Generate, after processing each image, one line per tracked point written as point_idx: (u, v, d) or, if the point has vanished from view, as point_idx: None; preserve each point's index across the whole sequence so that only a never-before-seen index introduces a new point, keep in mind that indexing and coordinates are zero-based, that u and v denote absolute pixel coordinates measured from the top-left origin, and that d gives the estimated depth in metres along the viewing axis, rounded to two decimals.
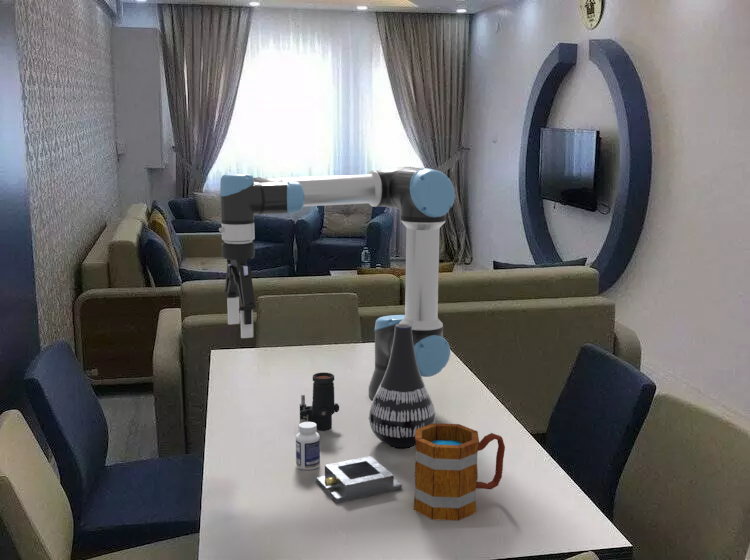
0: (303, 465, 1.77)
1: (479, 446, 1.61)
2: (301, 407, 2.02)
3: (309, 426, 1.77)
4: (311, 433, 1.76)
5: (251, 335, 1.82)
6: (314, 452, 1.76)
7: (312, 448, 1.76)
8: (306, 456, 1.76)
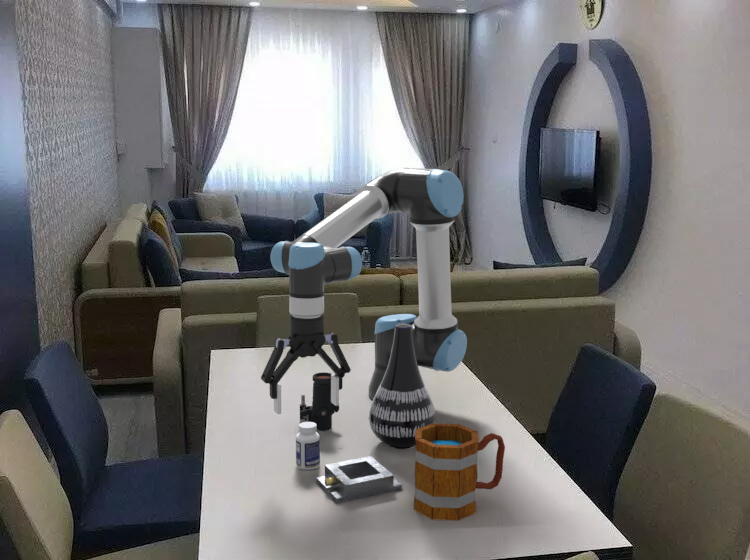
0: (303, 465, 1.77)
1: (479, 446, 1.61)
2: (301, 407, 2.02)
3: (309, 426, 1.77)
4: (311, 433, 1.76)
5: (277, 411, 1.73)
6: (314, 452, 1.76)
7: (312, 448, 1.76)
8: (306, 456, 1.76)
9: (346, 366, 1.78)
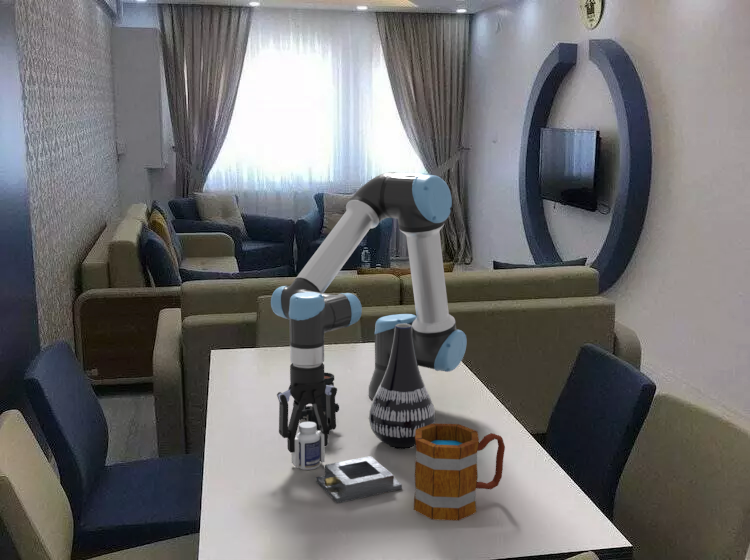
0: (303, 465, 1.77)
1: (479, 446, 1.61)
2: None
3: (309, 426, 1.77)
4: (311, 433, 1.76)
5: (295, 464, 1.77)
6: (314, 452, 1.76)
7: (312, 448, 1.76)
8: (306, 456, 1.76)
9: (333, 423, 1.79)
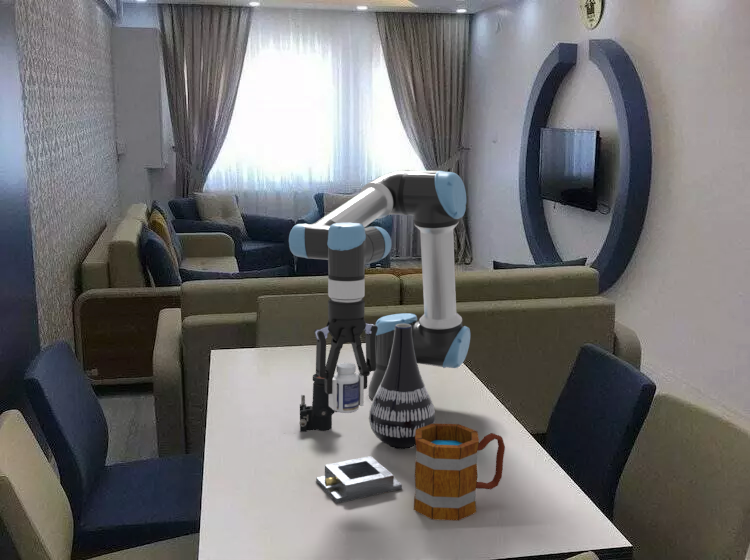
0: (341, 408, 1.66)
1: (479, 446, 1.61)
2: (301, 407, 2.02)
3: (348, 366, 1.66)
4: (349, 374, 1.66)
5: (332, 407, 1.66)
6: (352, 394, 1.66)
7: (351, 390, 1.65)
8: (344, 398, 1.65)
9: (373, 364, 1.68)
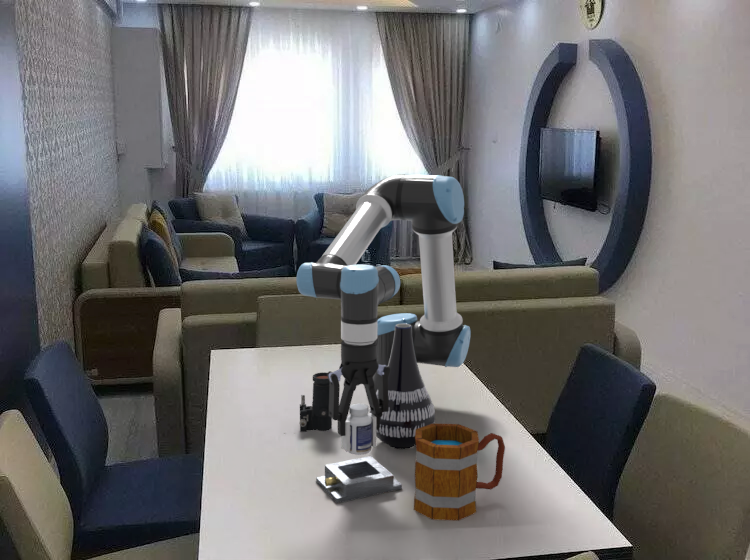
0: (354, 450, 1.66)
1: (479, 446, 1.61)
2: (301, 407, 2.02)
3: (361, 408, 1.65)
4: (363, 415, 1.65)
5: (345, 449, 1.66)
6: (366, 436, 1.65)
7: (364, 431, 1.65)
8: (357, 440, 1.65)
9: (385, 405, 1.68)
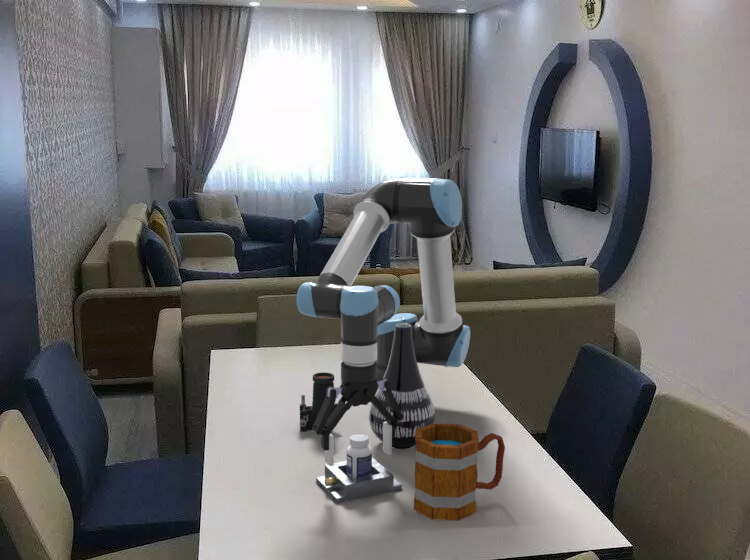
0: None
1: (479, 446, 1.61)
2: (301, 407, 2.02)
3: (361, 439, 1.67)
4: (363, 447, 1.67)
5: (329, 463, 1.65)
6: (366, 467, 1.67)
7: (364, 463, 1.66)
8: (358, 471, 1.66)
9: (399, 414, 1.70)
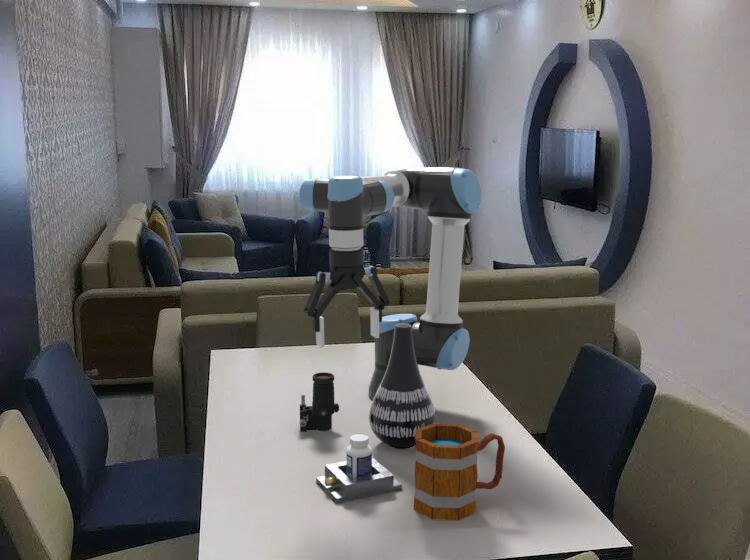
0: None
1: (479, 446, 1.61)
2: (301, 407, 2.02)
3: (361, 439, 1.67)
4: (363, 447, 1.67)
5: (320, 344, 1.74)
6: (366, 467, 1.67)
7: (364, 463, 1.66)
8: (358, 471, 1.66)
9: (385, 299, 1.80)
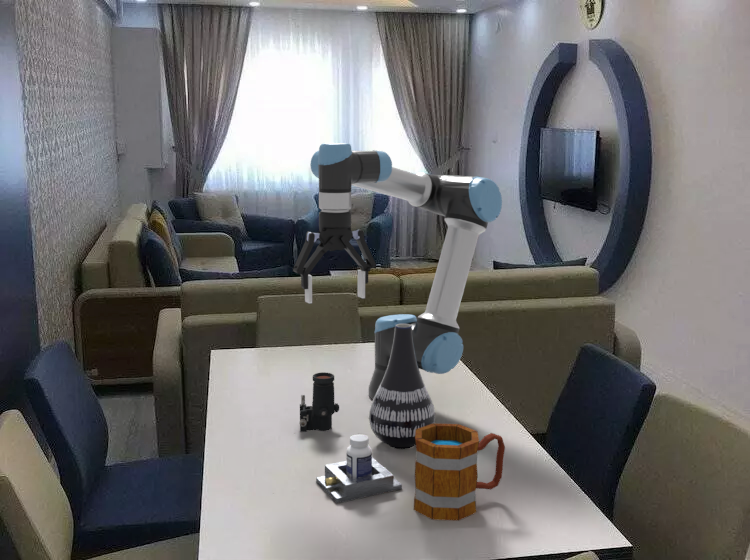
0: None
1: (479, 446, 1.61)
2: (301, 407, 2.02)
3: (361, 439, 1.67)
4: (363, 447, 1.67)
5: (308, 301, 1.85)
6: (366, 467, 1.67)
7: (364, 463, 1.66)
8: (358, 471, 1.66)
9: (372, 261, 1.90)
